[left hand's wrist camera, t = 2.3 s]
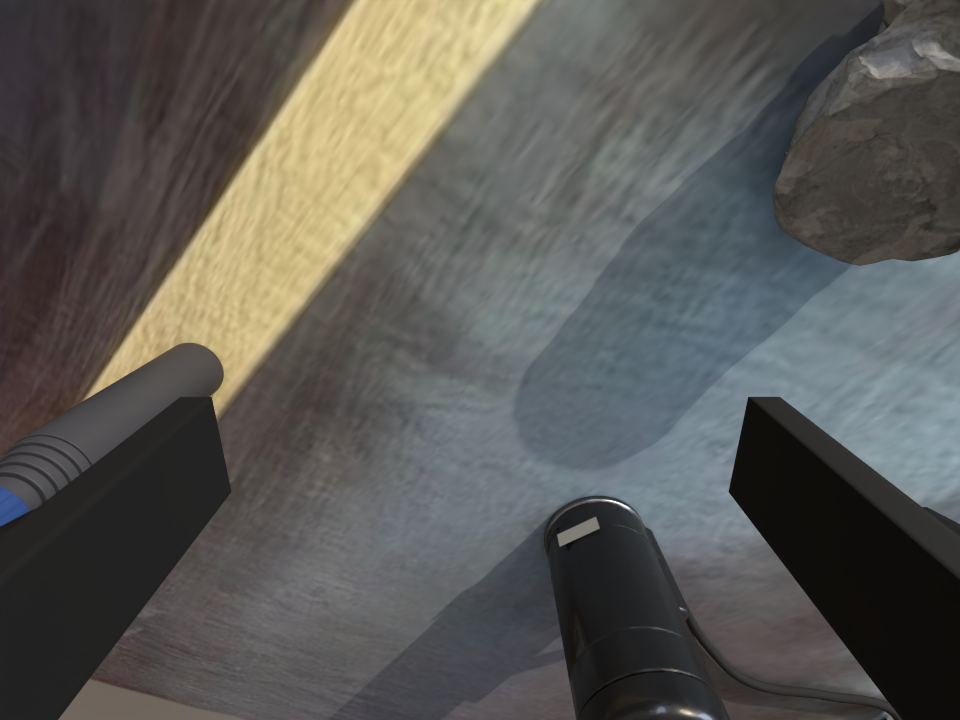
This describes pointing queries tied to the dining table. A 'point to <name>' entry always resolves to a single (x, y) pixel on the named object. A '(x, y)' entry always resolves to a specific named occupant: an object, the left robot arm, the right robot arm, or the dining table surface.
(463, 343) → the dining table surface
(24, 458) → the bottle
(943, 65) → the decorative stone
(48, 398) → the dining table surface
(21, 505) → the cap
